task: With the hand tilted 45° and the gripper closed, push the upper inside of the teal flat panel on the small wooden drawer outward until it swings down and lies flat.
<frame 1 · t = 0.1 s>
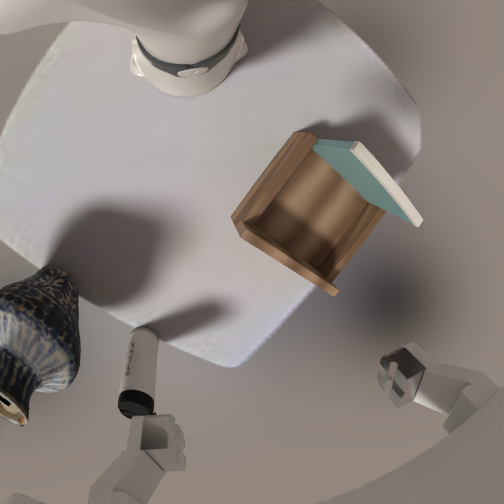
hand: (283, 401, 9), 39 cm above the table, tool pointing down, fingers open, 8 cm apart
wooden drawer: (305, 206, 48), on the table
travel mug: (145, 337, 53), on the table
blue patterned vase: (58, 290, 44), on the table
teal flat panel: (364, 178, 37), point 10 cm above the table, hinge at 0.0°
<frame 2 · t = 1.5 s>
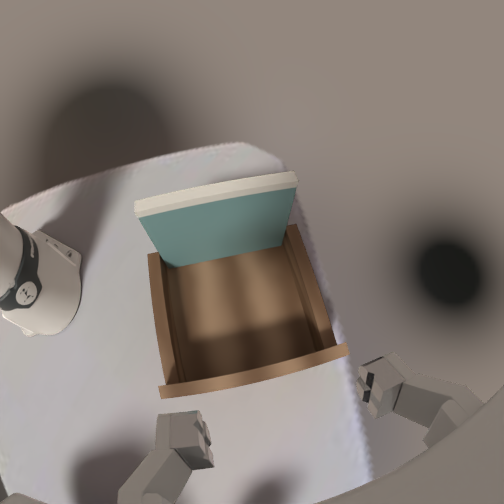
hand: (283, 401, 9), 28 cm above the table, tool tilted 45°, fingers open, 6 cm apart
wooden drawer: (238, 318, 37), on the table
teal flat panel: (220, 227, 32), point 10 cm above the table, hinge at 0.0°
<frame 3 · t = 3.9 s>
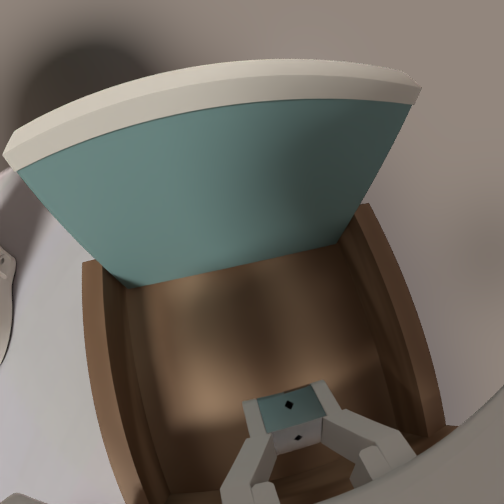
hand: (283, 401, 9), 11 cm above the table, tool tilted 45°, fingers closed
wooden drawer: (260, 377, 19), on the table
teal flat panel: (227, 200, 13), point 10 cm above the table, hinge at 0.0°
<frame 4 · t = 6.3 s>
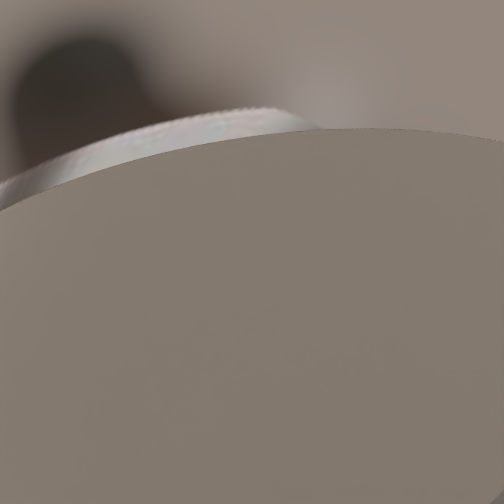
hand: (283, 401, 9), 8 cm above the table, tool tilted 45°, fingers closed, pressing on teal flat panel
teal flat panel: (285, 368, 7), point 10 cm above the table, hinge at 0.7°, touching gripper
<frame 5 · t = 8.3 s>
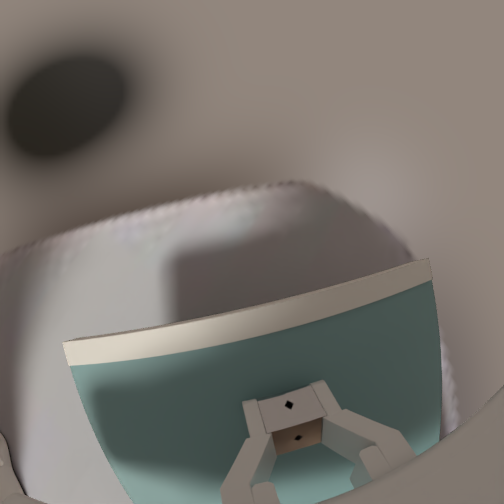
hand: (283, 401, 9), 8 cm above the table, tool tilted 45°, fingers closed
teal flat panel: (291, 455, 9), point 6 cm above the table, hinge at 72.1°
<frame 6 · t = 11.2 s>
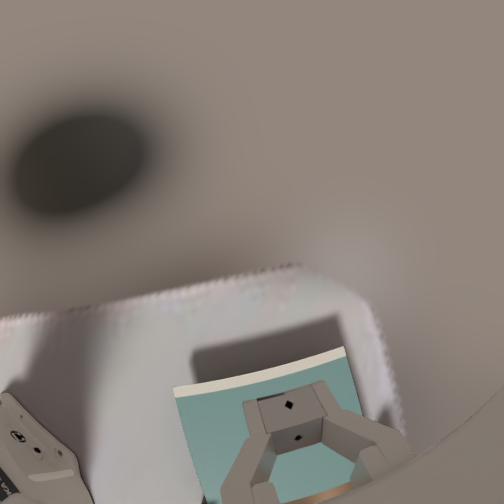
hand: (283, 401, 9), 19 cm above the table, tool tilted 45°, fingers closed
teal flat panel: (278, 439, 20), point 4 cm above the table, hinge at 90.1°
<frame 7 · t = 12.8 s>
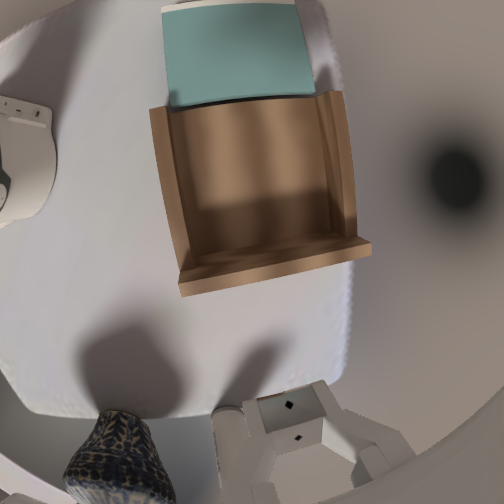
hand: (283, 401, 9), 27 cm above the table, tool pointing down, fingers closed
wooden drawer: (252, 177, 33), on the table
travel mug: (228, 414, 45), on the table
blue patterned vase: (126, 424, 42), on the table
teal flat panel: (236, 43, 24), point 4 cm above the table, hinge at 90.1°
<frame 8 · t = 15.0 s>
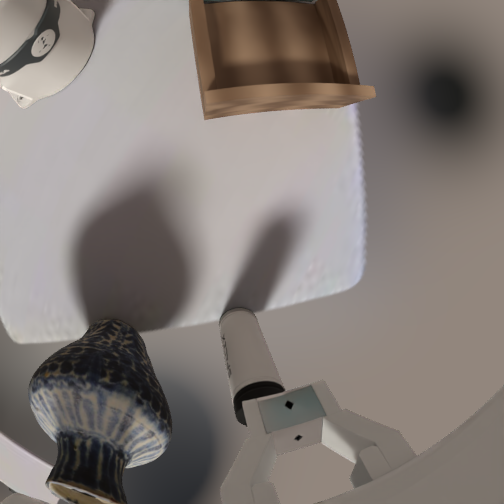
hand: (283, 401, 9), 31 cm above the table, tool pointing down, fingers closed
wooden drawer: (265, 55, 31), on the table
travel mug: (238, 322, 44), on the table
blue patterned vase: (119, 344, 41), on the table
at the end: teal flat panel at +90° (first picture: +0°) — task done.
